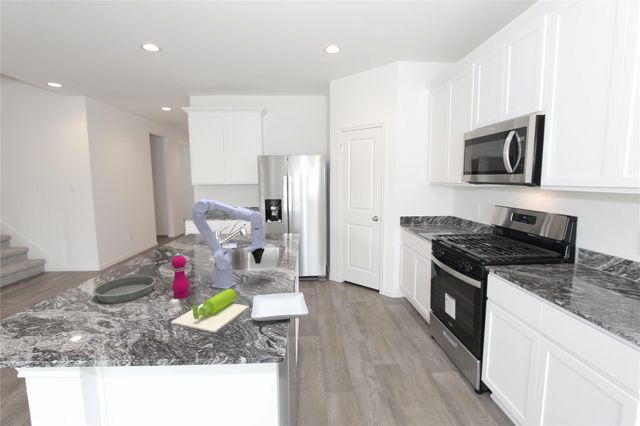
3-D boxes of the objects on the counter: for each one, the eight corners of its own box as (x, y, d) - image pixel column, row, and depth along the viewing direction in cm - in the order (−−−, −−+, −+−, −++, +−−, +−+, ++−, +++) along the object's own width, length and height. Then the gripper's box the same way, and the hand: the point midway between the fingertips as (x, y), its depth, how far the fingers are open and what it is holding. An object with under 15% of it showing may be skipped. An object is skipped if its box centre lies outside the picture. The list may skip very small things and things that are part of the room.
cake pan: (81, 299, 136) (80, 289, 135) (135, 281, 158) (134, 272, 157) (115, 309, 125) (114, 299, 125) (167, 288, 147) (167, 279, 146)
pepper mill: (193, 294, 139) (190, 251, 136) (180, 300, 133) (177, 255, 130) (182, 291, 142) (179, 250, 139) (168, 297, 136) (165, 254, 133)
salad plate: (302, 298, 134) (302, 290, 134) (309, 321, 113) (309, 312, 113) (253, 302, 131) (253, 294, 130) (251, 326, 110) (250, 318, 109)
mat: (170, 323, 112) (170, 321, 112) (209, 300, 132) (209, 299, 132) (214, 332, 105) (214, 331, 105) (249, 307, 125) (249, 306, 125)
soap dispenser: (235, 286, 127) (200, 306, 109) (236, 302, 128) (202, 324, 110) (224, 285, 130) (188, 304, 111) (225, 300, 130) (189, 322, 112)
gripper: (255, 240, 140) (256, 268, 142) (271, 234, 154) (272, 259, 156) (242, 239, 143) (244, 266, 145) (259, 233, 156) (260, 258, 158)
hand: (258, 263), depth 150 cm, fingers closed
